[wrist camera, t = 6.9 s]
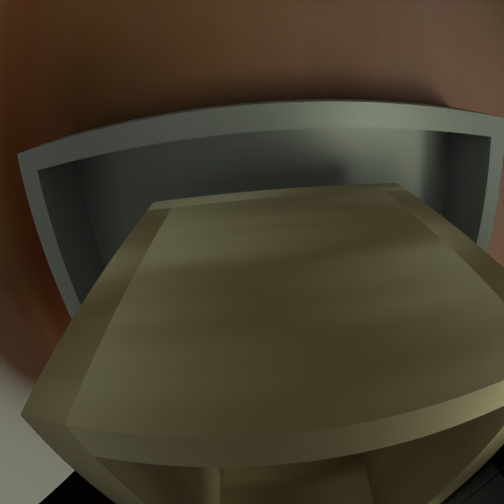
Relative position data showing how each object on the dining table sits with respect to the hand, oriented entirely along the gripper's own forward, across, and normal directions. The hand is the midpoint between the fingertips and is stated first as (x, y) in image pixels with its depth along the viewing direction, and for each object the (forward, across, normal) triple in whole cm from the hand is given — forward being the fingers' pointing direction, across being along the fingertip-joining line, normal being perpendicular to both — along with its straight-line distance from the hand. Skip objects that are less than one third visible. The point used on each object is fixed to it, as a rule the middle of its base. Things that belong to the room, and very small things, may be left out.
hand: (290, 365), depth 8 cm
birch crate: (+1, 0, 0) cm, 1 cm away
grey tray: (+4, 0, 0) cm, 4 cm away
